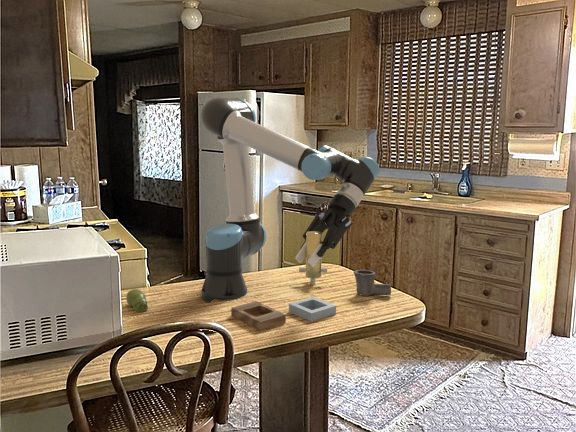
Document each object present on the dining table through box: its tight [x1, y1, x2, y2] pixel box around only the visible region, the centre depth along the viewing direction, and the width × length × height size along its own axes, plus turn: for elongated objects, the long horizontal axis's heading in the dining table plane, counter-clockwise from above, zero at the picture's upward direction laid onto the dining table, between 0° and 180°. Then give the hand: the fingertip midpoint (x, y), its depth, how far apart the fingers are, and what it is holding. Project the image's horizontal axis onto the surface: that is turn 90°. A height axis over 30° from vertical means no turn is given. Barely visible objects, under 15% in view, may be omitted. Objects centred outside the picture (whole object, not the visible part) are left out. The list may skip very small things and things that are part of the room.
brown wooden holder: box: [230, 300, 287, 332], centre depth 156 cm, size 14×9×4 cm, turn 40°
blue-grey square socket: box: [288, 296, 337, 322], centre depth 161 cm, size 10×10×4 cm
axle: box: [305, 231, 323, 279], centre depth 158 cm, size 5×5×13 cm
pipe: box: [353, 269, 392, 297], centre depth 182 cm, size 6×13×8 cm, turn 79°
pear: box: [125, 288, 149, 314], centre depth 167 cm, size 6×5×10 cm
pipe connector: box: [298, 267, 328, 286], centre depth 193 cm, size 10×10×10 cm
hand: (304, 262), depth 156 cm, fingers closed on axle, 5 cm apart
